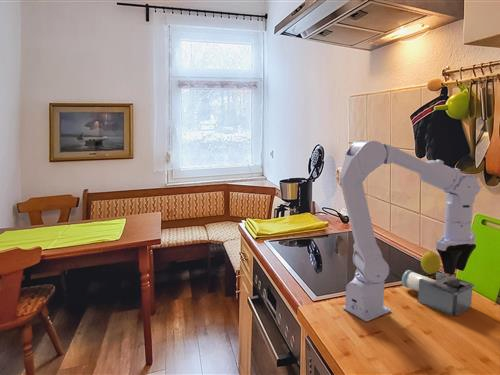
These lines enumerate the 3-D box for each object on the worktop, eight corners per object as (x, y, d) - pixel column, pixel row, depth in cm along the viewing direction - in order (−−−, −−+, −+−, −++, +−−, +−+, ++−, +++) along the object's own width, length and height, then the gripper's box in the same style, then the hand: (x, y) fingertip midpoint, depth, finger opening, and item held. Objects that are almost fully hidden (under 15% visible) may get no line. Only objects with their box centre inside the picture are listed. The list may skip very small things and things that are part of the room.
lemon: (442, 278, 104) (443, 254, 103) (423, 277, 106) (424, 253, 104) (436, 271, 110) (437, 248, 109) (418, 270, 111) (419, 247, 110)
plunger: (461, 286, 86) (462, 279, 86) (455, 289, 85) (456, 282, 84) (450, 282, 88) (451, 276, 88) (444, 285, 87) (445, 278, 87)
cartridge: (445, 297, 91) (446, 280, 90) (434, 302, 89) (436, 284, 88) (411, 284, 100) (412, 268, 99) (401, 288, 97) (402, 272, 96)
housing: (472, 307, 87) (474, 284, 86) (453, 317, 83) (455, 293, 82) (436, 293, 95) (438, 271, 94) (417, 301, 91) (419, 279, 90)
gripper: (458, 228, 77) (454, 283, 79) (490, 219, 84) (485, 270, 86) (429, 222, 83) (426, 273, 85) (460, 214, 90) (457, 261, 92)
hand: (454, 271), depth 86 cm, fingers open, 4 cm apart
